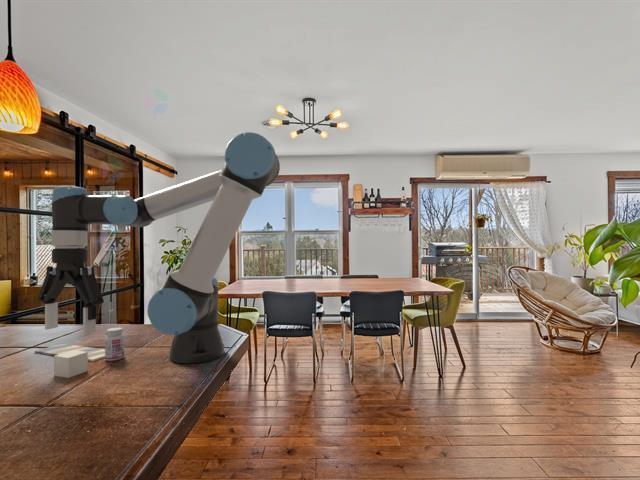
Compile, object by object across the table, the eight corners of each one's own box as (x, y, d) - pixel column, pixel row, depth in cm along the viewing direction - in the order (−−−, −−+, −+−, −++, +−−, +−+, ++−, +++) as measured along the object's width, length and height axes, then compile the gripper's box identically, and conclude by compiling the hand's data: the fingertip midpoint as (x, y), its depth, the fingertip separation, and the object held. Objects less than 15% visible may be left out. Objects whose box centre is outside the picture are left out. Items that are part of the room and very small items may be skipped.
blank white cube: (87, 371, 92) (87, 351, 92) (68, 378, 87) (68, 357, 87) (73, 369, 94) (73, 350, 94) (54, 375, 89) (54, 355, 89)
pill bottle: (113, 361, 99) (113, 331, 99) (101, 360, 100) (100, 330, 100) (128, 356, 103) (127, 327, 103) (115, 355, 105) (115, 326, 105)
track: (118, 353, 107) (118, 351, 107) (93, 361, 99) (93, 359, 99) (61, 345, 114) (61, 343, 114) (34, 352, 107) (34, 350, 107)
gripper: (119, 247, 90) (119, 330, 90) (51, 247, 99) (51, 323, 99) (92, 248, 83) (92, 338, 83) (21, 247, 92) (20, 329, 91)
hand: (69, 330), depth 91 cm, fingers open, 13 cm apart
